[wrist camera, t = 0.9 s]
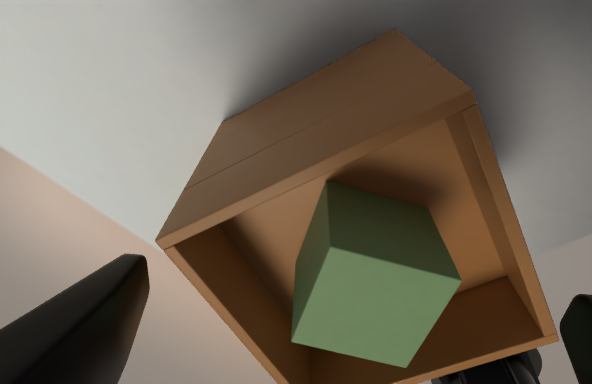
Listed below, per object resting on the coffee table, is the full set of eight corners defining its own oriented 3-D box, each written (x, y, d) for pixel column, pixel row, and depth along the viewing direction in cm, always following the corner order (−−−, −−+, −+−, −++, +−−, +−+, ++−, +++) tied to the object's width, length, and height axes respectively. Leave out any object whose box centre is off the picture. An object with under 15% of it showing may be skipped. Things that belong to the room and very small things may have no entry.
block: (428, 207, 14) (463, 280, 11) (387, 286, 16) (406, 369, 13) (325, 179, 14) (330, 246, 11) (294, 263, 16) (290, 342, 13)
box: (461, 191, 22) (560, 341, 13) (308, 254, 24) (306, 417, 16) (395, 28, 18) (472, 88, 9) (220, 123, 21) (153, 240, 12)
